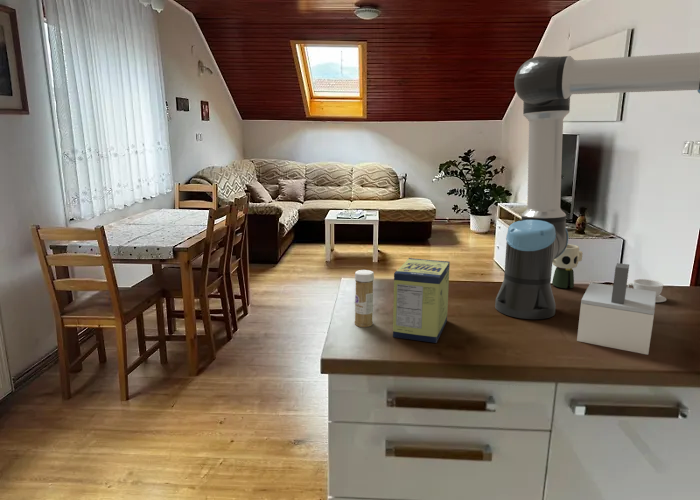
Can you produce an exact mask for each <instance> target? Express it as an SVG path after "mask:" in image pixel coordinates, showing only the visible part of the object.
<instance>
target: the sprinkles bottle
mask: <svg viewBox="0 0 700 500" xmlns="http://www.w3.org/2000/svg"><path fill="white" fill-rule="evenodd" d="M374 279H375V273H374V271H372V270H369V269H360V270H356V271H355V273H354V280H355V298H354V312H355V313H354V326H356V327H359V328H368V327H371V326H373V324H374V323H373V313H374Z"/></svg>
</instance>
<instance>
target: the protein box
mask: <svg viewBox="0 0 700 500" xmlns="http://www.w3.org/2000/svg"><path fill="white" fill-rule="evenodd" d="M450 264H451V262H450V261H447V260H446V261H444V260H436V259H435V260H432V259H425V258H424V259H421V258H412V257H411V258H410V257H408V259H407V260H406V261H405V262H403V264H402V265H401V266H400V267H399V268H398V269H397V270H395V271H394V274H393V309H392V310H393V314H392V337H393V338H398V339H405V340H412V341H421V342H428V343H432V344H433V343H434V344H437V343H438V341H439V338H440V336H441V334H442V332H443V331H444V328H445V327H446V323H447V321H448V310H449V309H448V308H449V307H448V305H449V303H448V302H449V284H450V283H449V281H450Z"/></svg>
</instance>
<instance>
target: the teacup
mask: <svg viewBox="0 0 700 500" xmlns="http://www.w3.org/2000/svg"><path fill="white" fill-rule="evenodd" d="M630 286H632V287H633V288H634V289H641V290H649V291H656V298H655V303H663V302H666V301H667V298H666V297H665V296H663V295H662V294H661V293H662V291H663V287H664V283H663V282H660V281H657V280H654V279H653V280H652V279H645V278H644V279H643V278H639V279H634V280H633V282H628V283H627V288H630Z"/></svg>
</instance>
